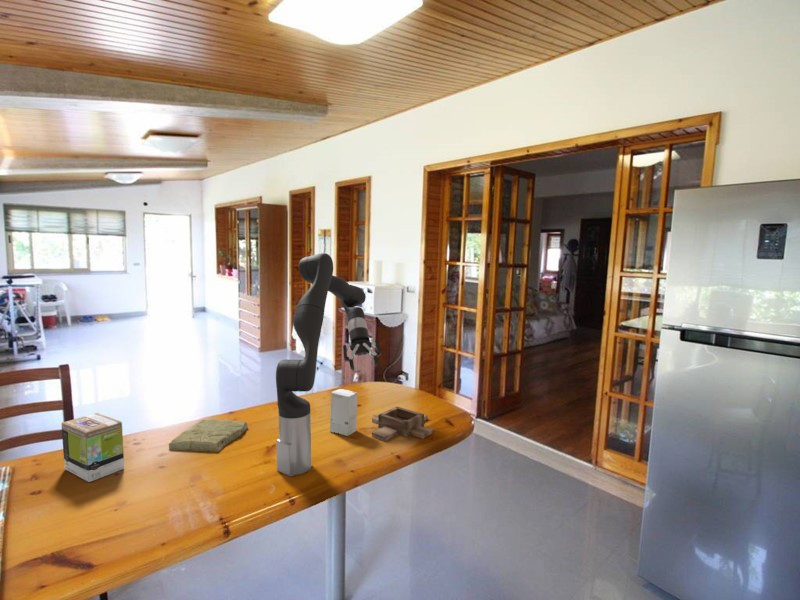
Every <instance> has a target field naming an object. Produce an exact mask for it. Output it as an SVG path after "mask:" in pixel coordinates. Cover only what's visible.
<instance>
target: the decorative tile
mask: <svg viewBox="0 0 800 600" xmlns="http://www.w3.org/2000/svg"><path fill="white" fill-rule="evenodd" d="M248 429H249V426H248V422H247V421H245V420H244V421H243V420H242V421H241V420H240V421H239V420H234V421H233V420H231V419H220V420H219V419H214V418H213V419H211V418H210V419H202V420H199V421H198V422H196V423H195V424H192V425H191V426H190V427H189V428H187V429H186V430H184V431H183V432H181V433H179V435H178V436H176V437H175V438H173V439H172V440H171V441H170V442H169V443H168V450H171V451H172V450H173V451H174V450H176V451H193V452H194V451H197V452H216V453H217V452H220V451H222V450H223V448H224V447H225V446H226V445H228V444H229V443H231V442H232V441H234V440H237V439H238V438H239V437H241V436H242V434H243V433H244V432H245V431H247V430H248Z"/></svg>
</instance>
